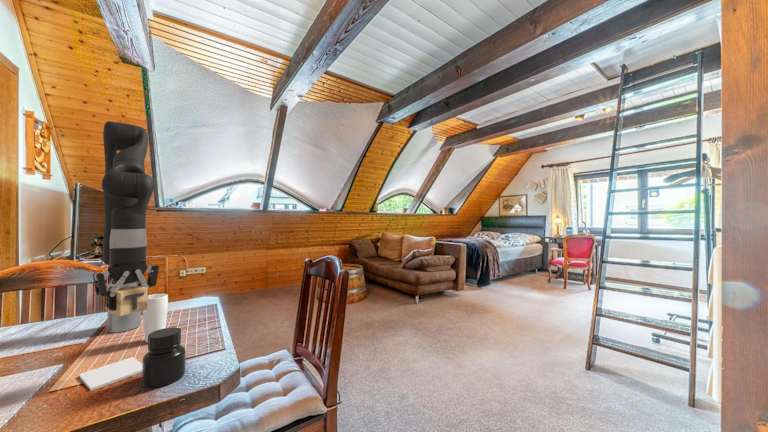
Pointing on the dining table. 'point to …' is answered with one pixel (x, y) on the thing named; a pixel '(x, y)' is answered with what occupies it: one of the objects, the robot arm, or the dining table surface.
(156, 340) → the ink bottle
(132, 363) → the white mat
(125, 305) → the lettered block
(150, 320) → the white cup
